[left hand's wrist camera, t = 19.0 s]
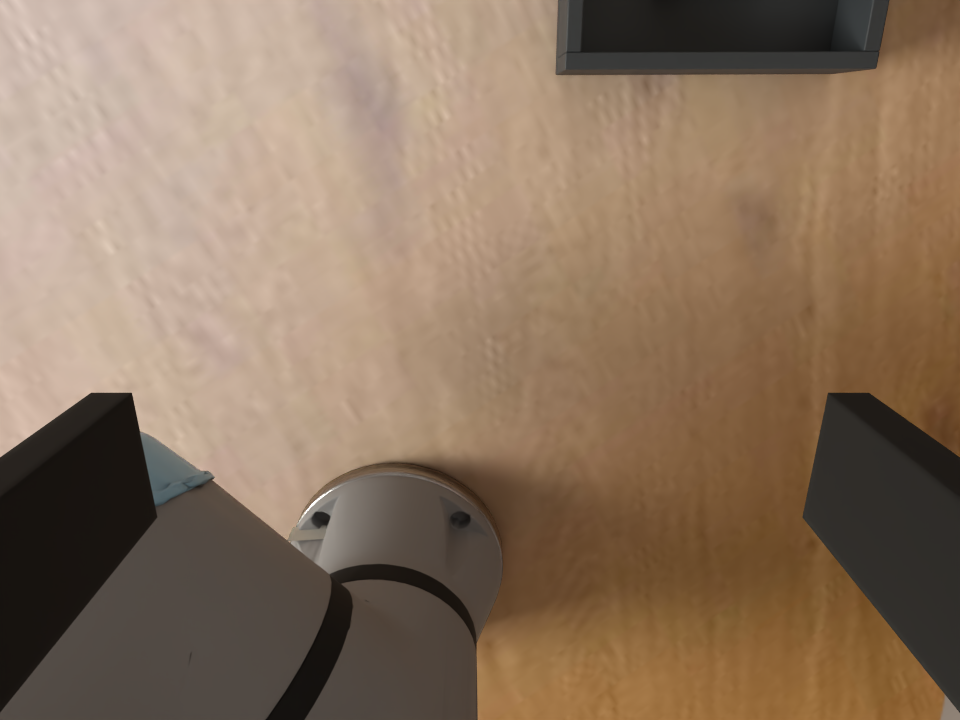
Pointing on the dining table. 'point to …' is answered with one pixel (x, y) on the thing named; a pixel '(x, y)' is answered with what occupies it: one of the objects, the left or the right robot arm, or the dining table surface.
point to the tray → (718, 36)
